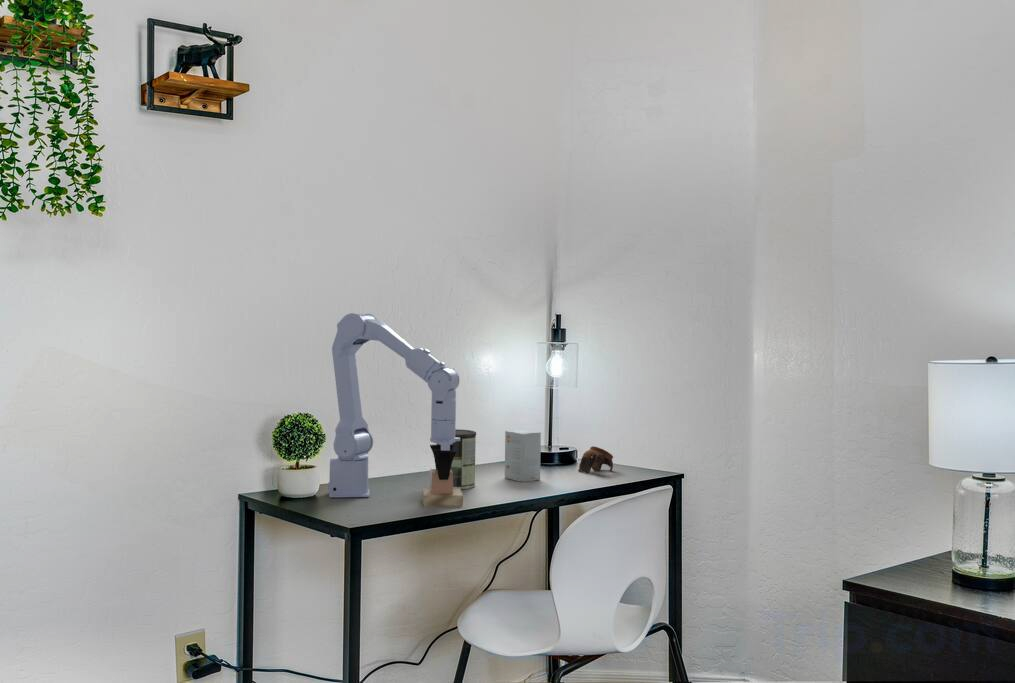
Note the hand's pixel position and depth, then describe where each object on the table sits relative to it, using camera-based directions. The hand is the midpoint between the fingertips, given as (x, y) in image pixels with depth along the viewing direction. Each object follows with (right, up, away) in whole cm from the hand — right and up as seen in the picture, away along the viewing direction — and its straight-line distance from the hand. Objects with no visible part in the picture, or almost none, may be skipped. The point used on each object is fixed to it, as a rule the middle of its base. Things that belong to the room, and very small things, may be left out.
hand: (442, 476), depth 204 cm
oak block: (0, -7, 0) cm, 6 cm away
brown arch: (+41, -6, +46) cm, 61 cm away
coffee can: (+2, -6, +21) cm, 21 cm away
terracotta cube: (0, -4, 0) cm, 4 cm away
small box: (+19, -6, +32) cm, 38 cm away
